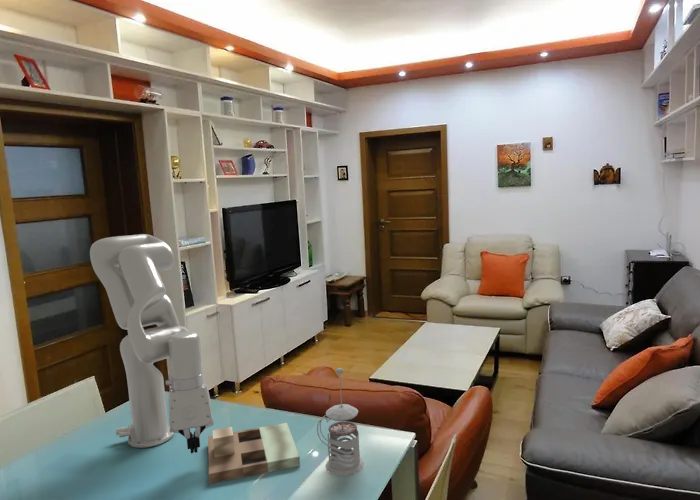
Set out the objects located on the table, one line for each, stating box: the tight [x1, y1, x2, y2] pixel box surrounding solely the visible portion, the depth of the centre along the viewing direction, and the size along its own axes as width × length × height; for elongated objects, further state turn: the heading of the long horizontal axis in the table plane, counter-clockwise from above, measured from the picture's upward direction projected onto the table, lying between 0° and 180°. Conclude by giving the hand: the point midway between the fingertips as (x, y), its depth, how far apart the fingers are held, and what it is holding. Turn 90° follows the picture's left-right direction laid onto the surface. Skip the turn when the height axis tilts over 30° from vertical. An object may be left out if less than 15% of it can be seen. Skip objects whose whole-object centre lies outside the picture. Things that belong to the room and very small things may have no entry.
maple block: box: [212, 426, 235, 457], centre depth 131 cm, size 5×5×5 cm
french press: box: [316, 367, 365, 477], centre depth 125 cm, size 10×12×25 cm
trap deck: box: [207, 422, 301, 485], centre depth 133 cm, size 22×20×2 cm
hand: (194, 450), depth 129 cm, fingers closed
